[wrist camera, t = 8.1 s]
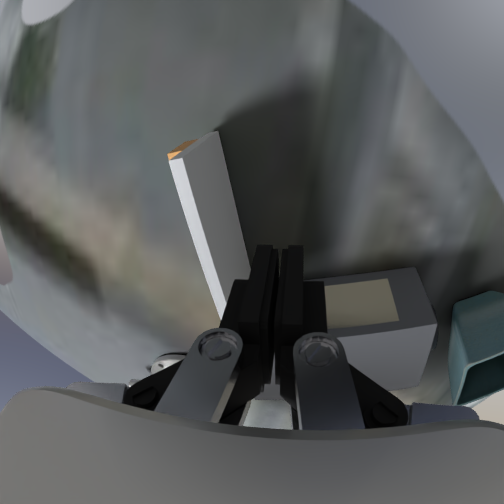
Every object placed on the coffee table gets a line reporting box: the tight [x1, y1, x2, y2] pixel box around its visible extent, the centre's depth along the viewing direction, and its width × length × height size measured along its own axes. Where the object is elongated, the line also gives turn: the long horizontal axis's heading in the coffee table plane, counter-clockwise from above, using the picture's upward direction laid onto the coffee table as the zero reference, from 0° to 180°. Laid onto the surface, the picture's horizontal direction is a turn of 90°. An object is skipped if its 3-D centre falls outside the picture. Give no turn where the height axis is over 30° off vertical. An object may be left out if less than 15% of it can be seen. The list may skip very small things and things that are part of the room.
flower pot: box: [448, 291, 504, 406], centre depth 22 cm, size 9×9×9 cm
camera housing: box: [255, 267, 438, 400], centre depth 25 cm, size 17×9×8 cm, turn 105°
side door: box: [168, 131, 251, 320], centre depth 21 cm, size 14×2×7 cm, turn 12°
